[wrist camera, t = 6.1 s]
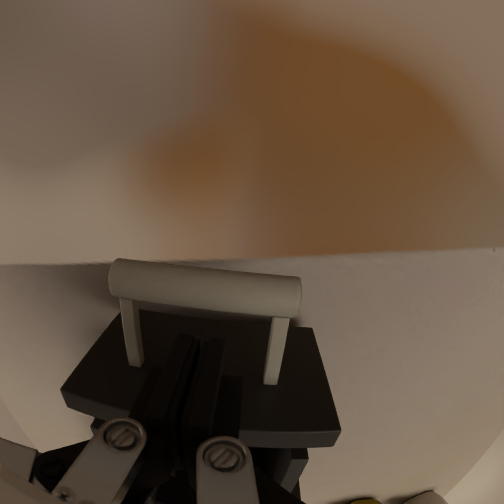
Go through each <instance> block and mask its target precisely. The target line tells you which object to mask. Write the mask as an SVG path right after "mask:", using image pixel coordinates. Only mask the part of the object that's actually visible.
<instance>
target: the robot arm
mask: <svg viewBox="0 0 504 504" xmlns="http://www.w3.org/2000/svg"><path fill="white" fill-rule="evenodd" d="M225 351H226V339H224V338H216V337H210V340H209V341H207V340H204V342H203V345H202V349H201V352H200V339H195V335H193V334H186V333H179V334H178V336H177V338H176V340H175V342H174V345H173V347H172V349H171V351H170V354H169V356H168V358H167V361H166V363H165V365H164V366H163V365H158V364H153V365H152V367H151V369H150V371H149V373H148V375H147V377H146V379H145V381H144V383H143V385H142V387H141V389H140V392H139V394H138V396H137V398H136V400H135V402H134V404H133V407H132V409H131V411H130V413H129V415H128V417H115V418H111V419H109V420H107V421H105V422H104V423H103V424H102V425H101V427H100V428H99V429H98V431H97V432H96V433H95V435H94V436H93V437H92V439H90V440H87V441H83V442H80V443H77V444H73V445H70V446H66V447H63V448H59V449H55V450H51V451H47V452H45V453H39V452H38V450H37V449H33V448H30V447H27V446H23V445H20V444H17V443H14V442H11V441H9V440H6V439H3V438H0V504H153V503H154V501H155V499H156V497H157V495H158V493H159V491H160V489H161V485H162V484H163V483H165V482H167V481H169V480H170V476H175V477H176V474H177V470H183V468H184V464H185V461H186V467H187V473H188V479H189V484H190V485H191V486H192V488H193V489H194V490H195V491H196V492H197V504H305V503H304V502H303V501H301V500H300V499H298V498H297V497H295V496H294V495H293V494H291V493H290V492H288V491H287V490H286V489H284V488H283V487H282V486H280V485H279V484H278V483H277V482H275V481H274V480H273V479H271V478H270V477H269V476H268V475H266V474H265V473H264V472H263V471H261V470H260V469H259V468H258V467H257V466H255V465H254V464H253V462H252V456H251V453H250V450H249V448H248V447H247V446H246V445H245V443H243V442H242V441H240V440H239V429H240V416H241V404H242V392H243V379H244V377H240V376H230V375H224V367H225Z"/></svg>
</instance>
